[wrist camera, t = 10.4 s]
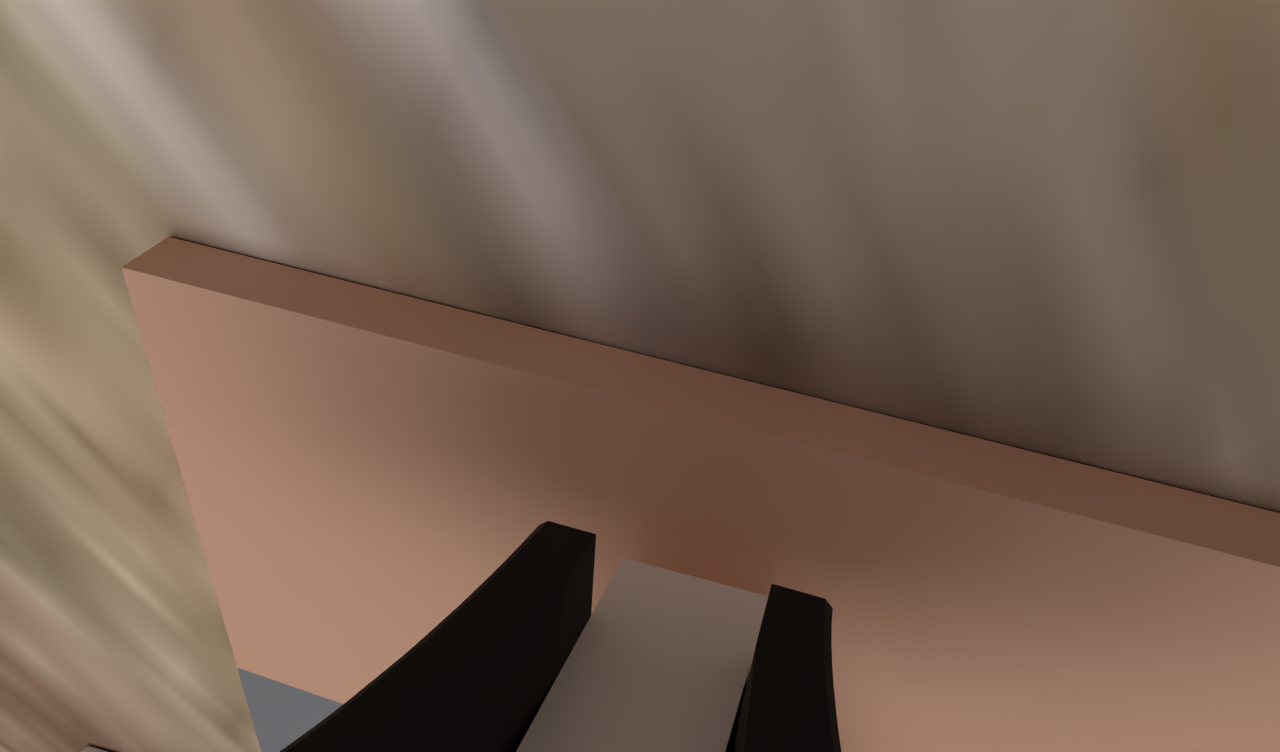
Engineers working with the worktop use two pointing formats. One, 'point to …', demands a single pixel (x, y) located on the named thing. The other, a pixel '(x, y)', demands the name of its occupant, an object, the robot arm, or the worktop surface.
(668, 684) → the jug
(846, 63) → the worktop surface
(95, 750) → the milk
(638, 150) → the worktop surface
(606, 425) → the jug holder
